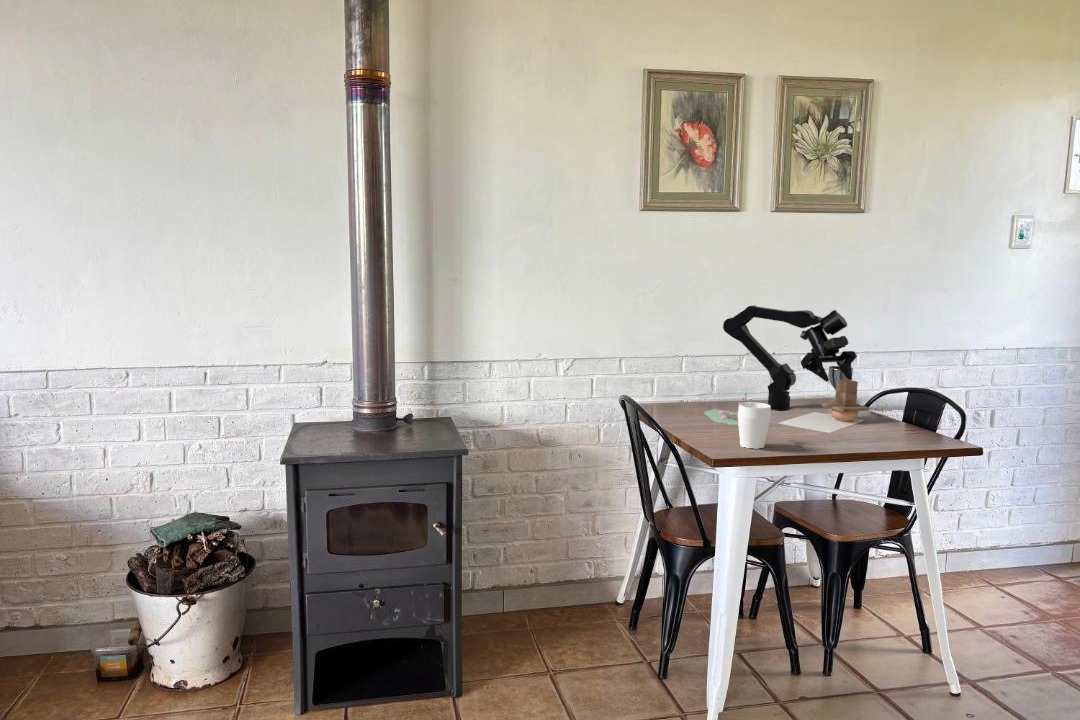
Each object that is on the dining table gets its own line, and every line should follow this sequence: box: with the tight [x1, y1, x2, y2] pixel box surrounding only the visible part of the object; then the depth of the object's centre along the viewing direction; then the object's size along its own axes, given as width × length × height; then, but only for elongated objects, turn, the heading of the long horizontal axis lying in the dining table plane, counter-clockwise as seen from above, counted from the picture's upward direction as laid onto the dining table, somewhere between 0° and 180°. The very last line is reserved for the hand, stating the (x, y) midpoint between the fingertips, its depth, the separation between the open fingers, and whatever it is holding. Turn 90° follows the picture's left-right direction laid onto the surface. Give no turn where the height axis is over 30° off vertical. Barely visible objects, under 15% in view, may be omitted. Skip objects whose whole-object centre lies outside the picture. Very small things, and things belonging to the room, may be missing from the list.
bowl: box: [831, 409, 859, 422], centre depth 259 cm, size 8×8×4 cm
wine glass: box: [828, 365, 854, 391], centre depth 280 cm, size 8×8×15 cm
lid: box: [821, 379, 870, 412], centre depth 258 cm, size 10×10×9 cm
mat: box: [777, 411, 865, 434], centre depth 256 cm, size 17×26×1 cm, turn 136°
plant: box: [703, 393, 753, 426], centre depth 264 cm, size 25×21×9 cm
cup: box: [737, 401, 772, 450], centre depth 226 cm, size 9×9×12 cm
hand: (839, 380), depth 261 cm, fingers open, 9 cm apart
